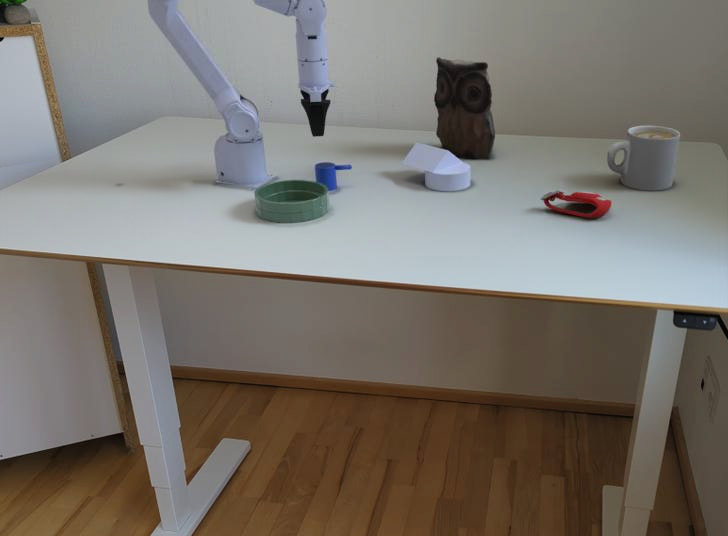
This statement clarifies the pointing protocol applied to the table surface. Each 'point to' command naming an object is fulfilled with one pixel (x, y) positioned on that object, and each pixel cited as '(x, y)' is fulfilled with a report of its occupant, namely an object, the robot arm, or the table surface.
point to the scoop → (328, 174)
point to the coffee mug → (647, 157)
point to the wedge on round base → (439, 168)
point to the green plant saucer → (291, 201)
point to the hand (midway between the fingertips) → (317, 130)
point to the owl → (464, 108)
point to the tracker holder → (581, 198)
